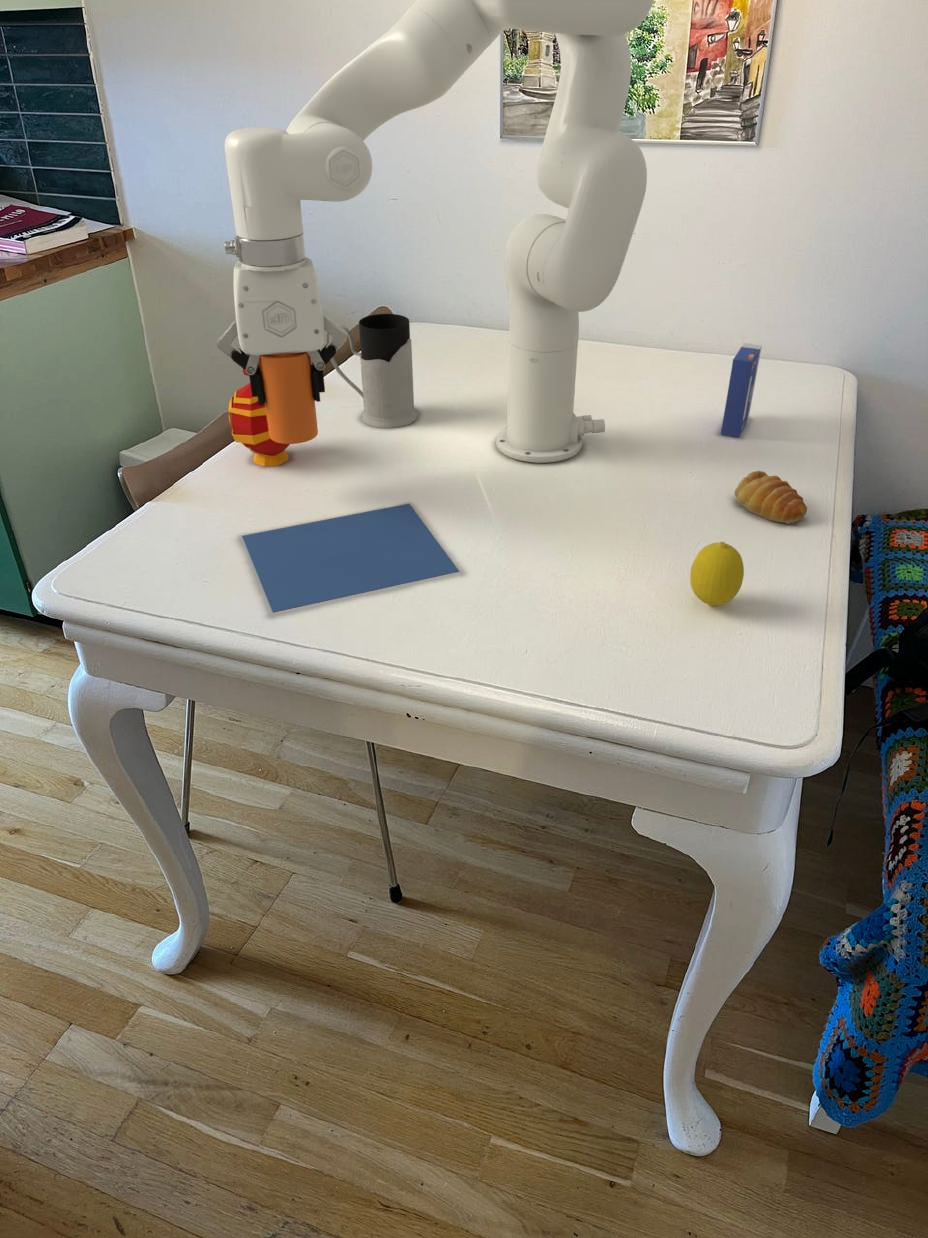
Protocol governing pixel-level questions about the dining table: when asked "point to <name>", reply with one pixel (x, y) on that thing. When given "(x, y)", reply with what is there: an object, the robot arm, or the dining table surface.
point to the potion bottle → (254, 428)
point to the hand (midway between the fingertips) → (289, 398)
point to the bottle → (289, 397)
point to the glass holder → (384, 370)
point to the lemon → (717, 573)
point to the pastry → (770, 498)
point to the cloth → (345, 556)
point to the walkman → (740, 389)
